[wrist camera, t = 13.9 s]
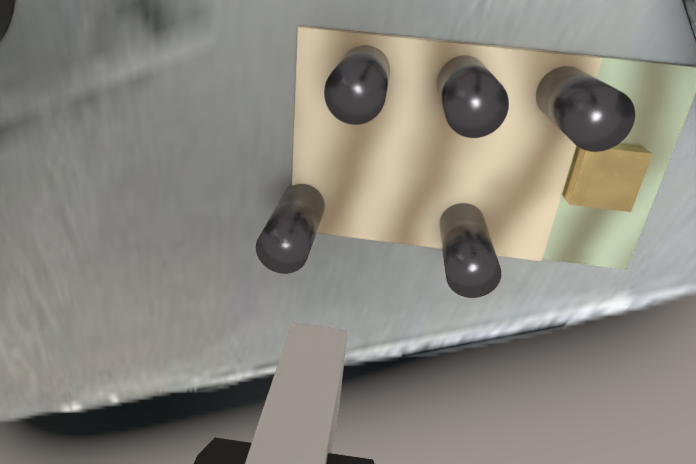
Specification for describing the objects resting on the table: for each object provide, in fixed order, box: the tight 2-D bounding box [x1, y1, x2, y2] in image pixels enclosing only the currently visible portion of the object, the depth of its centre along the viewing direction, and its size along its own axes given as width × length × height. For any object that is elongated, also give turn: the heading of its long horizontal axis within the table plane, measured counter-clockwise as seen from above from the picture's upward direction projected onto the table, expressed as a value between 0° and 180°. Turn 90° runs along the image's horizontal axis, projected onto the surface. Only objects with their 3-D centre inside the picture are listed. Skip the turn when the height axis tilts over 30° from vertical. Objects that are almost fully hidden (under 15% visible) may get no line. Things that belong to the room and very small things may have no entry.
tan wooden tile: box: [562, 143, 653, 212], centre depth 37 cm, size 4×4×2 cm
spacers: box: [256, 45, 635, 298], centre depth 35 cm, size 22×15×8 cm
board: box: [292, 26, 696, 269], centre depth 39 cm, size 28×16×1 cm, turn 85°
